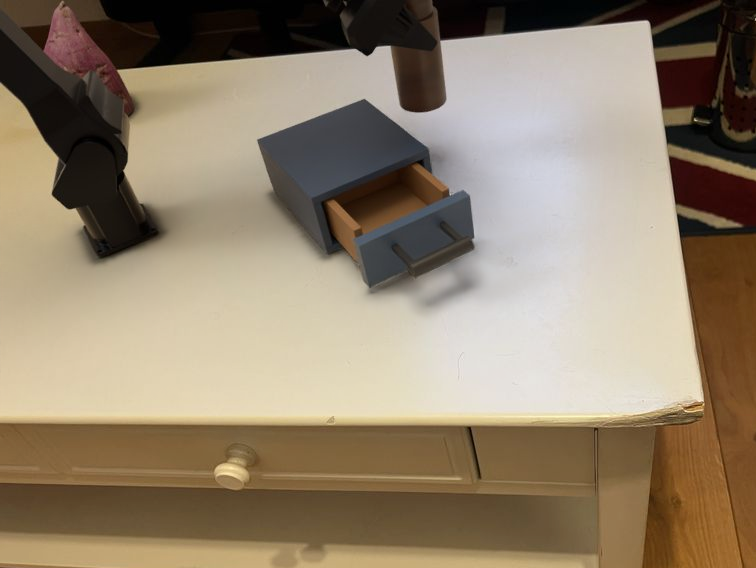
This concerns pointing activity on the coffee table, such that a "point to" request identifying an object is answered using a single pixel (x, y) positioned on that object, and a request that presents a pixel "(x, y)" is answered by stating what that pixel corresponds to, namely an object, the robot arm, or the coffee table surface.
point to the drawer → (401, 224)
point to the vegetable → (82, 53)
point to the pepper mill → (420, 66)
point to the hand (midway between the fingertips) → (428, 36)
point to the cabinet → (335, 160)
